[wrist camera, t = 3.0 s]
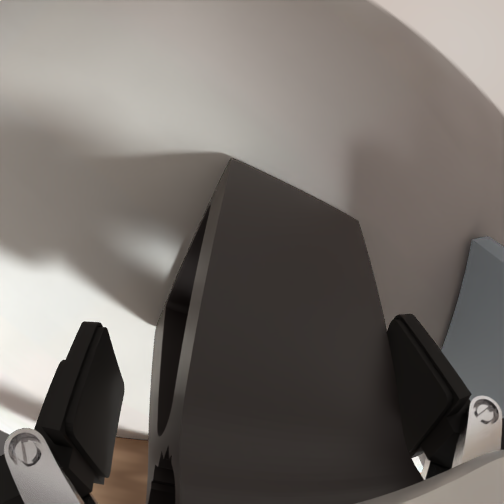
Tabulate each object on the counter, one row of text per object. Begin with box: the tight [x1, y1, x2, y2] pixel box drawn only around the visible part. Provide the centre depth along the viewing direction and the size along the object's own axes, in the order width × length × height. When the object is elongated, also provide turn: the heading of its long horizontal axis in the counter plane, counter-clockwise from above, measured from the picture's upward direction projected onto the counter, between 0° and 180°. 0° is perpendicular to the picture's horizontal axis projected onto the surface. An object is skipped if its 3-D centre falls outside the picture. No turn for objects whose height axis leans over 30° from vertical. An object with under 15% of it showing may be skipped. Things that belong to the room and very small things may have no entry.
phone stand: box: [146, 158, 424, 504], centre depth 9 cm, size 9×6×12 cm, turn 153°
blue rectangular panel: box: [418, 236, 504, 467], centre depth 14 cm, size 20×2×10 cm, turn 7°
